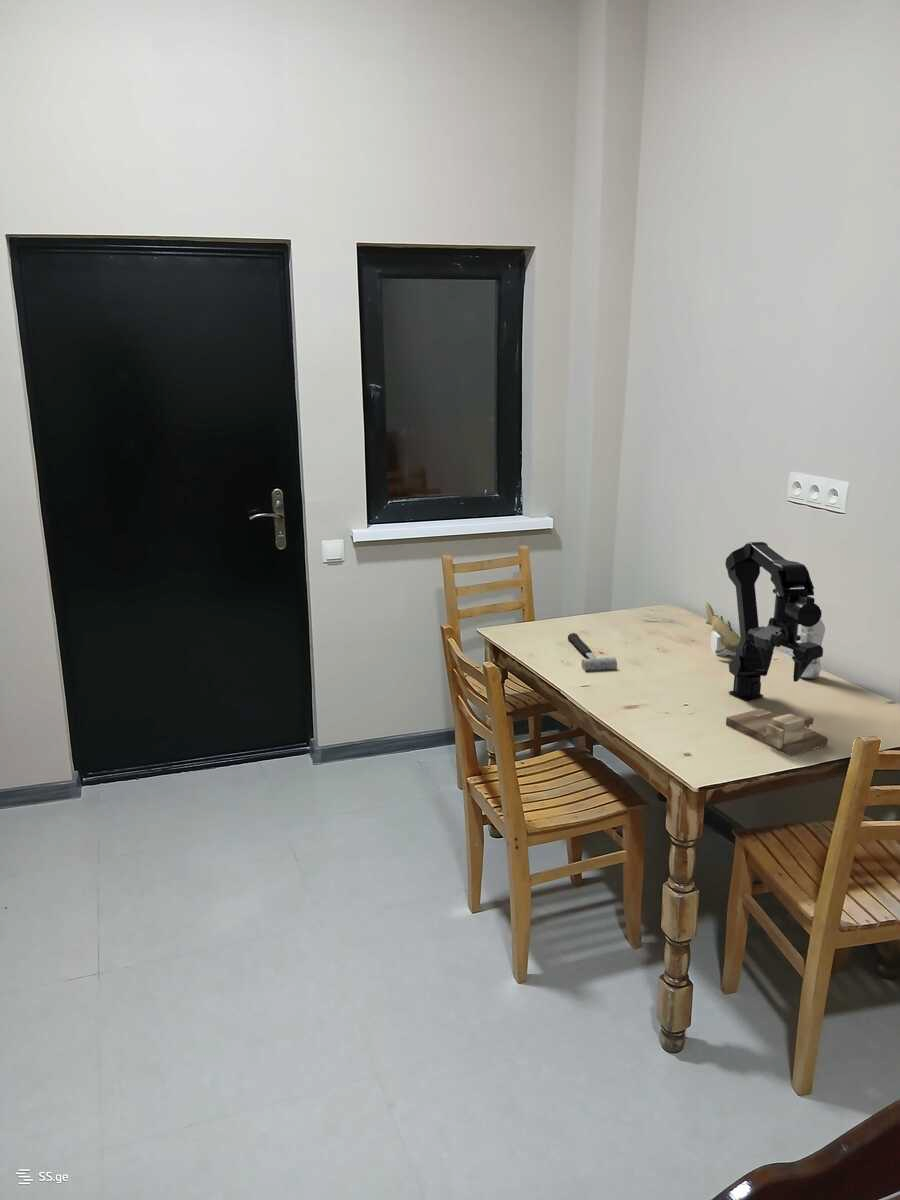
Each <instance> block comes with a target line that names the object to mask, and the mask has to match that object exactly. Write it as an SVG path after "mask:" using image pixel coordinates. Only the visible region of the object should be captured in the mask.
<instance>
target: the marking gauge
mask: <svg viewBox="0 0 900 1200" xmlns="http://www.w3.org/2000/svg"><path fill="white" fill-rule="evenodd" d="M778 716H779V717H775V718H772V724H768V725H767V732H766V743H768V744H770V745H772V746H774V747H777V748H779V749H780V748H782V745H784V744H788V743H792V742H795V741H799V740H802V738H803V729H804V727H805V728H810V726H812V725H814V717H813V716H810V715H806V716H801V717H800V716H797V715H794V714H793V713H788V714H782V715H778Z"/></svg>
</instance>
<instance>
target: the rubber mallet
mask: <svg viewBox="0 0 900 1200" xmlns="http://www.w3.org/2000/svg"><path fill="white" fill-rule="evenodd" d="M567 640H568V641H569V640H570V641H569V642H571V643H572V644H573V646H575V648H577V649H578V650H579V651H580V652H581V653H582V654H583V655H585V656H586V657H587V658H583V659H582V660H581V669H582V668H583V669H584V670H594V671H605V670H604V669H611V670H616V669H617V668H618V661H617V658H616V657H599V658H598V657H596V655H595V654H594V653H593V651H592V649H590V647H589V646H588V645H587V644H586V643H585V642H584V641H583V640H582V639H581V638H580V636H579V634H578V633H575V632H572V633H569V634H568V635H567ZM583 669H582V670H583ZM601 669H603V670H601ZM584 670H583V671H584Z"/></svg>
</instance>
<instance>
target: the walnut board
mask: <svg viewBox="0 0 900 1200" xmlns="http://www.w3.org/2000/svg"><path fill="white" fill-rule="evenodd" d="M779 716H780V715H778V714H775V713H773V712H772V711H768V710H767V709H764V708H758V709H754V710H750V711H747V712H742V713H738V714H734V715H729V716H727V717H726V718H725V725H726V726H727V727H729V728H732V729H733V730H736V731H737V732H740V733H742V734H743V735H745V736H746V735H747V736H748V737H750V738H753V739H754V740H756V741H758V742H760V743H762V744H765V745H767V746H768V747H771V748H773V749H775V750H776V751H779V752H781V753H783V754H785V755H787V756H789V757H793V756H795V755H799V754H802V753H801V752H803V753H805V752H804V751H806V752H809V751H808V750H810V751H812V749H813V750H815V749H814V748H817V747H820V748H822V747H821V746H824V747H826V746H825V745H827V746H828V743H829V742H828V740H829V737H827V736H825V735H823V734H820V733H819V732H817V731H814V730H813V729H809V728H808V727H806V726H805V727H804V729H803V738H802V740H799V741H795V742H792V743H788V744H784V745H782V748H780V749H779V748H777V747H774V746H772V745H770V744H768V743H766V732H767V725H768V724H772V718H775V717H779ZM817 749H818V748H817ZM798 753H799V754H798ZM792 755H793V756H792Z"/></svg>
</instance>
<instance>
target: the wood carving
mask: <svg viewBox="0 0 900 1200" xmlns="http://www.w3.org/2000/svg"><path fill="white" fill-rule="evenodd" d="M705 608H706V620H705V624H706V625H710V626H712V627H711V628H712V631H711V634H710V635H711V636H710V637H711V638H710V650H711V652H712V653H713V654H714V655H715V656H717V657H718V656H721V657H722V656H727V655H730V656H735V650H736V648H737V646H738V644H739V642H740V640H741V637H740V634H738V633H737V632H736V631H735V630H734V629H733V628H732V625H731V624H732V623H731V622H730V621H729V620H727V622H725V621H724V619H723V615H720V616H719V614H715V612H714V609H713V607H712V605H711V604H710V603H709V602H708V601H706V602H705Z"/></svg>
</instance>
